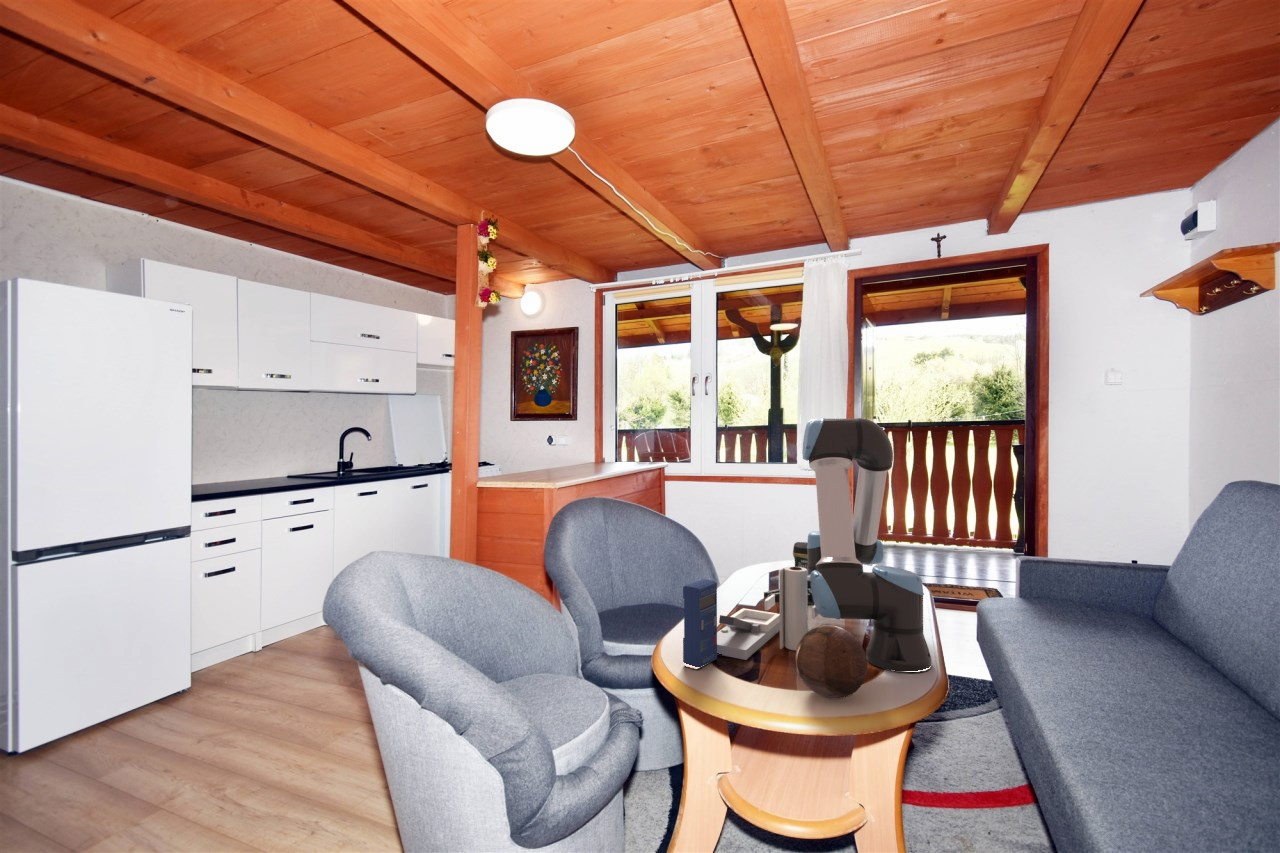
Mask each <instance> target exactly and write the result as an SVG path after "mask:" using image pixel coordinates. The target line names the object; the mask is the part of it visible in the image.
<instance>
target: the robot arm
mask: <svg viewBox="0 0 1280 853" xmlns="http://www.w3.org/2000/svg"><path fill="white" fill-rule="evenodd" d="M884 430H885V429H883V428H882V427H881V426H880V425H879V424H878V423H876V422H874V421H872V420H870V419H867V418H863V417H861V418H860V417H856V418H825V417H824V418H812V419H809V421H808V422H807V423H806V425H805V429H804V435H803V439H802V440H803V441H802V450H801V451H802V459H803V461H804V460H805V461H807V462H808V464H809V468H810V469H811V470H813V472H814V473H815V474H814V475H815V484H816V487H815V488H816V499H817V501H816V502H817V512H818V516H817V517H818V529H819V530H814V531H811V532H809V533H808V535H807V555H808V567H807V595H808V606H809V607H811V619H814V620H815V619H816V618H817V617H818V616H821V617H822V618H826V619H835V620H840V619H841V620H872V624H873V629H872V631H871V634H870V638H869V641H868V645H867V646H866V650H865V651H866V652H865V655H866V659H867V662H868V663H870V664H872V665H873V666H876V667H878V668H881V669H883V670H887V671H891V670H895V671H894V672H896V671H918V670H923V669H926V668H929V667H930V666H931V664H932V665H933V663H932V655H931V653H930V651H929V646H928V642H927V640H926V637H925V634H924V595H925V592H924V588H923V586H924V585H923V579H922V578H921V576H920V575H918V574H917V573H916V572H913V571H910V570H907V569H903V568H900V567H893V566H889V565H888V566H887V565H879V564H881V563H882V562H883V560H884V545H883V542H882V541H881V540H880V539H878V536H879V535H878V534H879V530H880V529H879V528H880V523H881V522H880V521H881V515H882V508H883V502H884V494H885V489H886V482H887V481H886V480H887V476H888V471H890V470H891V469H892V467H893V461H894V450H893V446H892V443H891V440H890V439H889V436H888V435H887V433H886V432H885V431H884ZM854 461H856V462H855V463H856V465H857V466H858V474H857V482H856V483H857V484H856V490H855V497H854V498H855V499H854V506H853V508H854V509H853V513H852V504H851V503H852V502H851V492H850V491H851V490H850V481H849V472H848V471H849V470H850V469H851V468H852V467H853V465H854V463H853V462H854ZM852 514H853V515H852ZM863 565H874V566H873V567H872V569H871V572H866V571H864V566H863ZM763 602H764V611H765V612H768V611H769V610H770V609H771V608H773V607H774V606H776V603H780V593H779V588H776V589H772V590H767V591H764V592H763Z"/></svg>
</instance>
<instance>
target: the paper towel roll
mask: <svg viewBox="0 0 1280 853" xmlns="http://www.w3.org/2000/svg"><path fill="white" fill-rule="evenodd" d="M778 572H779V577H778V578H779V580H778V581H779V588H778V589H779V593H780V602H779V614H780V631H779V650H782V649H783V648H784V647H785V648H786V649H788V650H791V651H795V652H796V649H797V646H798V643H799V641H800V640H801V638H802V637H803V636H804V635H805V634H806V633H807V632H808V631H809V627H808V623H809V622H808V619H809V618H808V616H809V614H808V611H809V610H808V595H807V569H806V568H802V567H795V566H786V567H783V568H781V570H780V569H779V571H778Z"/></svg>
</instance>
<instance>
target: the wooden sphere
mask: <svg viewBox="0 0 1280 853" xmlns="http://www.w3.org/2000/svg"><path fill="white" fill-rule="evenodd" d="M795 665H796V666H795V667H796V670H797V673H798V675H799V677H800V680H802V682H803V683H804V684H805V685H806V687H808V689H810V690H811V691H812V692H813V693H815V694H816V695H818V696H821V697H823V698H826V699H833V700H836V699H843V698H846V697H847V698H848V697H849V696H852V695H853V694H854V693H856V692H857V691H858V690H859V689H860V688H861V686H862V685H863V683H864V682H865V679H866V676H867V672H868V660H867V658H866V652H865V649H864V648H863V646H862V644H861V643H860V641H859V640H858V638H856V636H854V635H853V634H852V633H851V632H850V631H848V630H847V629H844V628H842V627H841V626H836V625H828V624H824V625H819V626H816V627H812V628H811V629H810V630H808V632H807V633H806V634H805V635H804V636H803V637H802V638H801V640H800V641H799V643H798V646H797V649H796V651H795Z"/></svg>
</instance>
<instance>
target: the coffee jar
mask: <svg viewBox="0 0 1280 853" xmlns="http://www.w3.org/2000/svg"><path fill="white" fill-rule="evenodd" d="M807 543H808V541H807V542H805V541H803V542H802V541H801V542H800V541H796V542H795V543H794V544H793V549H792V556H793V559H794V567H802V568H806V569H807V567H808V555H807Z"/></svg>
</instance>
